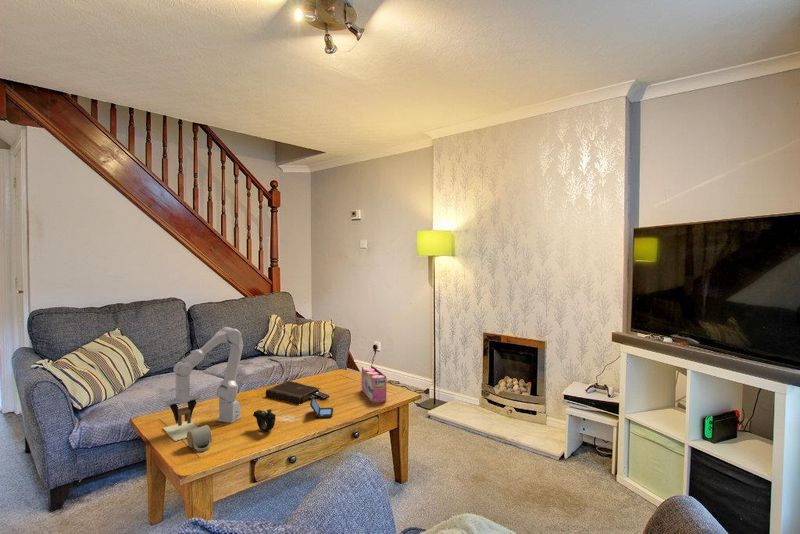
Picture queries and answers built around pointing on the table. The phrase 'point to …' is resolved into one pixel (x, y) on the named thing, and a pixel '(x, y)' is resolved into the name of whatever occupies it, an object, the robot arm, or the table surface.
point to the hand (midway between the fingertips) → (183, 418)
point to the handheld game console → (321, 410)
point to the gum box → (374, 384)
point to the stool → (186, 413)
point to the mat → (180, 430)
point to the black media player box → (291, 392)
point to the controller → (265, 419)
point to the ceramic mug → (199, 438)
